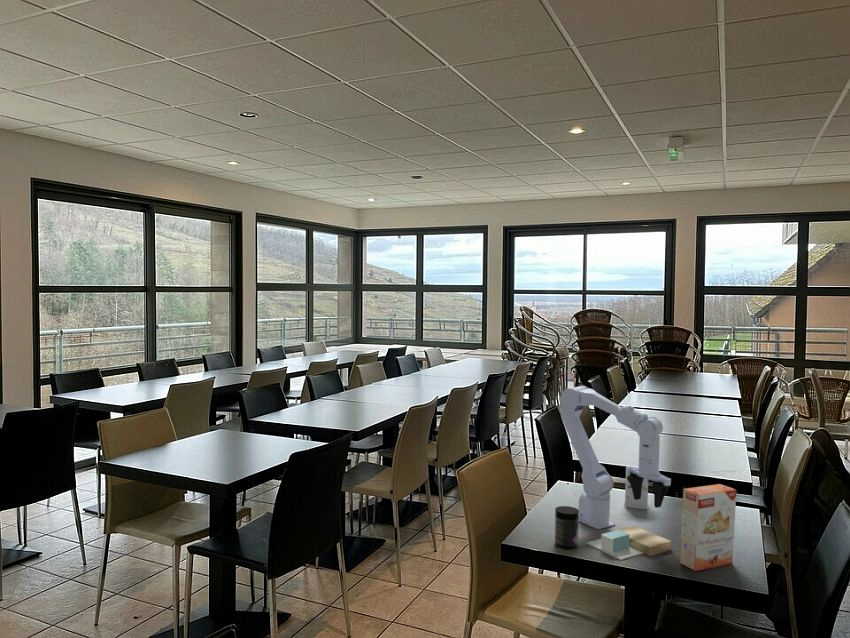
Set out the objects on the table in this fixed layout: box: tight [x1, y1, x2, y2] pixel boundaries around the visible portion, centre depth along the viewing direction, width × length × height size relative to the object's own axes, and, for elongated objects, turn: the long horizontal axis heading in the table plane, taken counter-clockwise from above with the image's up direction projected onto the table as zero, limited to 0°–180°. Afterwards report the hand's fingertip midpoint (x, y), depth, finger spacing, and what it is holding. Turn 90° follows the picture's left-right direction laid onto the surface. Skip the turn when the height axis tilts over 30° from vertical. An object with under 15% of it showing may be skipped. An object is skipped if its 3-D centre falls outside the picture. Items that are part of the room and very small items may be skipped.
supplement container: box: [554, 505, 580, 550], centre depth 182 cm, size 7×7×10 cm
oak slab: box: [611, 525, 672, 557], centre depth 184 cm, size 14×9×2 cm, turn 31°
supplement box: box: [624, 466, 649, 511], centre depth 217 cm, size 7×7×13 cm
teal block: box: [600, 529, 629, 553], centre depth 180 cm, size 4×4×7 cm
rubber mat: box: [585, 538, 644, 561], centre depth 180 cm, size 13×9×1 cm
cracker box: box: [679, 483, 737, 572], centre depth 171 cm, size 14×6×21 cm, turn 114°
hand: (647, 503), depth 189 cm, fingers open, 7 cm apart
